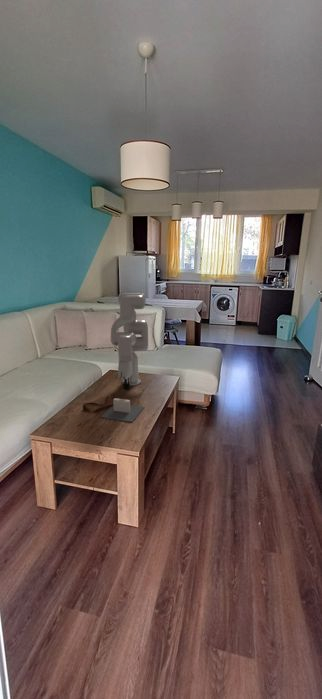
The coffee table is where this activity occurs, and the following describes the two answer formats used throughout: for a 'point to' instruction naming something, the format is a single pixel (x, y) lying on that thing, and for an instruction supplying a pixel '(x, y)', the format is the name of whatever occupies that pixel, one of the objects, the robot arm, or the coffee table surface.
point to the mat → (123, 414)
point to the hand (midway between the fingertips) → (126, 389)
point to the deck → (121, 405)
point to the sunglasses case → (98, 405)
